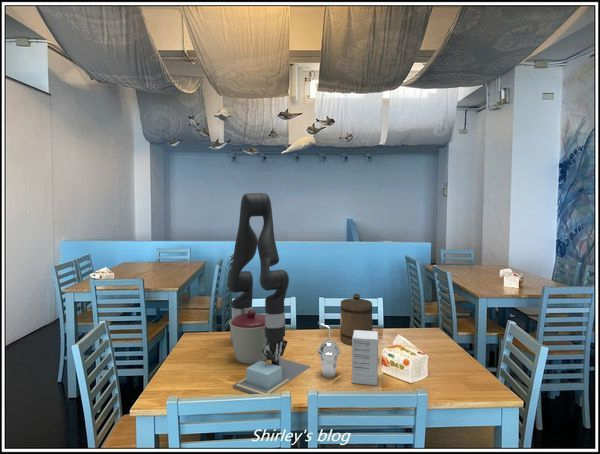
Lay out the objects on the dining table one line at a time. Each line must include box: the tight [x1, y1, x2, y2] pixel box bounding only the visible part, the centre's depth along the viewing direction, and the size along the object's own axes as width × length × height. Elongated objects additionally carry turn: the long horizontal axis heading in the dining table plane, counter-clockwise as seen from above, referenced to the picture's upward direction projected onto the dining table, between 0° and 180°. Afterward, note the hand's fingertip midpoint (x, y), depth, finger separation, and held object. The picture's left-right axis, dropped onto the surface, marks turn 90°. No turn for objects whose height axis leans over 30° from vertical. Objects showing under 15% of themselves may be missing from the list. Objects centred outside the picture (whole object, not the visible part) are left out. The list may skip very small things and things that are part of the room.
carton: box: [245, 361, 282, 389], centre depth 144 cm, size 10×8×5 cm
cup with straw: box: [317, 321, 341, 378], centre depth 148 cm, size 8×9×20 cm
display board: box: [232, 357, 312, 395], centre depth 148 cm, size 15×28×1 cm, turn 146°
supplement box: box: [351, 330, 379, 386], centre depth 147 cm, size 10×9×17 cm
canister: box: [228, 309, 268, 365], centre depth 164 cm, size 18×18×21 cm
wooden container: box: [339, 293, 373, 346], centre depth 186 cm, size 15×15×22 cm
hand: (275, 369), depth 149 cm, fingers closed
